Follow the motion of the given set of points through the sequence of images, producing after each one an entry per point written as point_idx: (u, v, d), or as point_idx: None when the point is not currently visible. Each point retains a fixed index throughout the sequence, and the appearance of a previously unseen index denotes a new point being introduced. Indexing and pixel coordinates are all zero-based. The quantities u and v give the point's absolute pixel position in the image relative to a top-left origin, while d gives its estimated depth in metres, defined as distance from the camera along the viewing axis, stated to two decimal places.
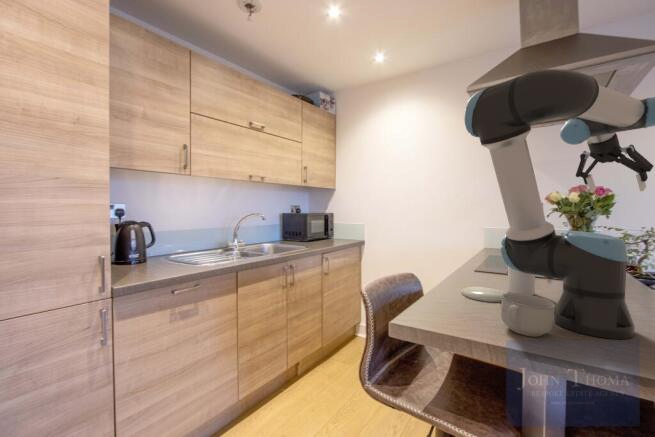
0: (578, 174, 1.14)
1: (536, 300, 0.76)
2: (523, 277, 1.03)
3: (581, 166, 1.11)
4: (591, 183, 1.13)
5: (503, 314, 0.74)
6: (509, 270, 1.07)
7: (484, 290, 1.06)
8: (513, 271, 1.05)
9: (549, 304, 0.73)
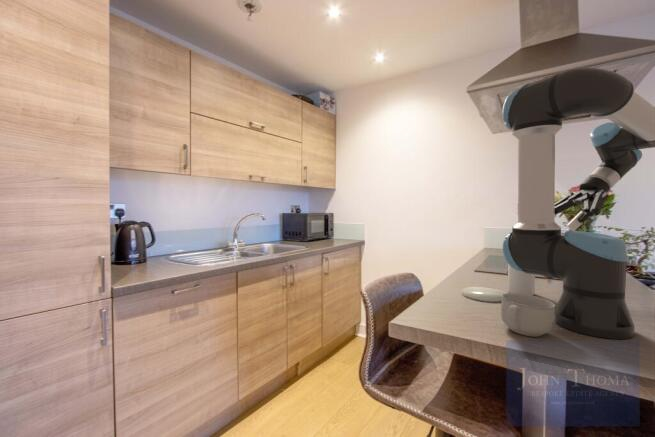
0: None
1: (536, 300, 0.76)
2: (523, 277, 1.03)
3: (559, 201, 1.14)
4: None
5: (503, 314, 0.74)
6: (509, 270, 1.07)
7: (484, 290, 1.06)
8: (513, 271, 1.05)
9: (549, 304, 0.73)
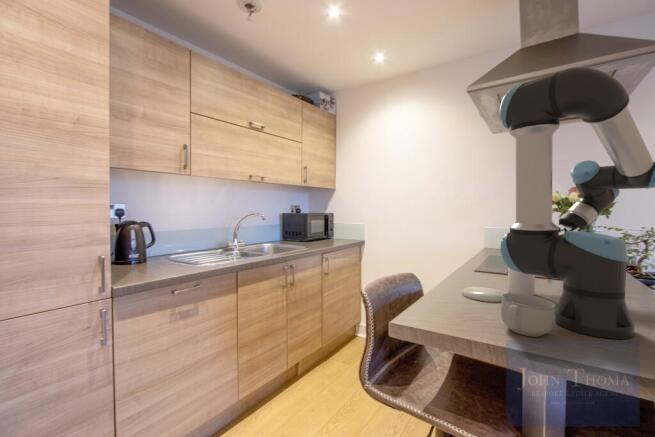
0: None
1: (536, 300, 0.76)
2: (523, 277, 1.03)
3: None
4: None
5: (503, 314, 0.74)
6: (509, 270, 1.07)
7: (484, 290, 1.06)
8: (513, 271, 1.05)
9: (549, 304, 0.73)
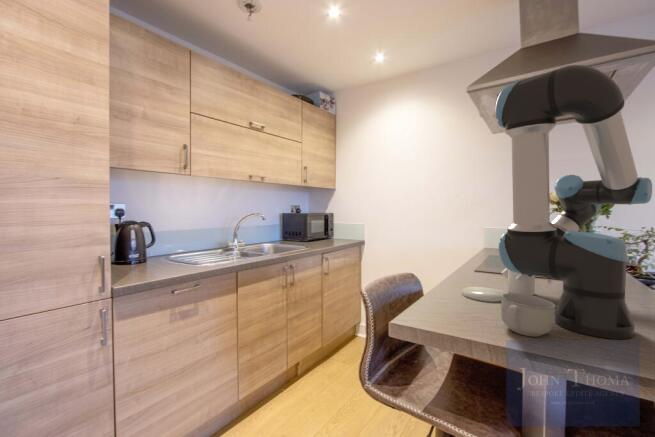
0: None
1: (536, 300, 0.76)
2: None
3: None
4: None
5: (503, 314, 0.74)
6: (509, 270, 1.07)
7: (484, 290, 1.06)
8: None
9: (549, 304, 0.73)
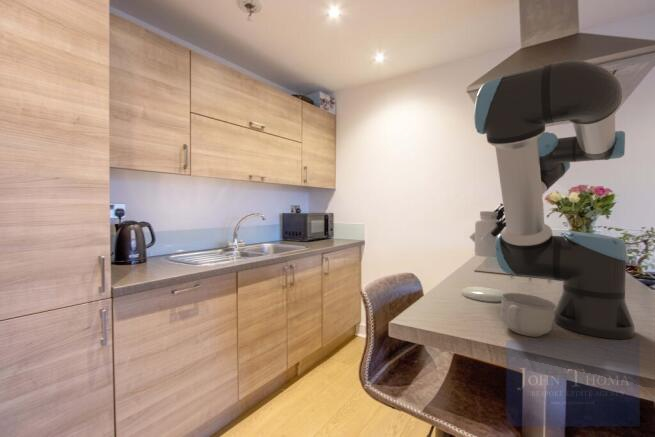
0: None
1: (536, 300, 0.76)
2: None
3: None
4: None
5: (503, 314, 0.74)
6: (475, 232, 1.04)
7: (484, 290, 1.06)
8: (479, 232, 1.02)
9: (549, 304, 0.73)
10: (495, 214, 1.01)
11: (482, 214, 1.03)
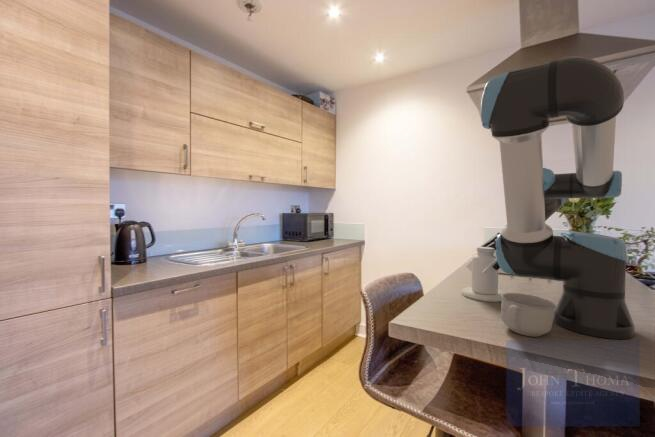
0: None
1: (536, 300, 0.76)
2: None
3: (488, 242, 1.10)
4: None
5: (503, 314, 0.74)
6: (472, 268, 1.04)
7: None
8: (476, 269, 1.02)
9: (549, 304, 0.73)
10: (492, 251, 1.01)
11: (479, 250, 1.02)
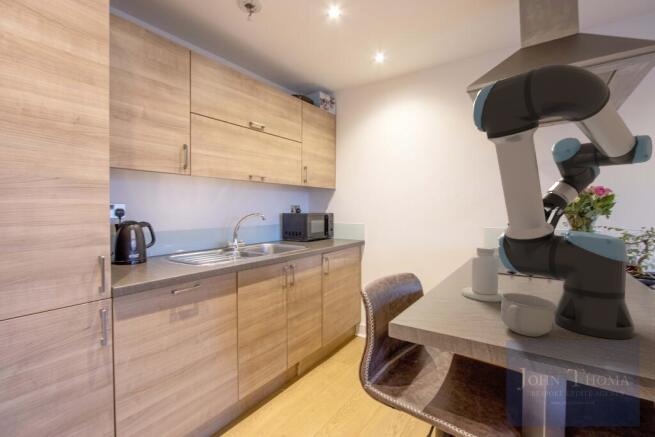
0: None
1: (536, 300, 0.76)
2: (486, 275, 1.00)
3: None
4: None
5: (503, 314, 0.74)
6: (472, 268, 1.04)
7: None
8: (476, 269, 1.02)
9: (549, 304, 0.73)
10: (492, 251, 1.01)
11: (479, 251, 1.02)
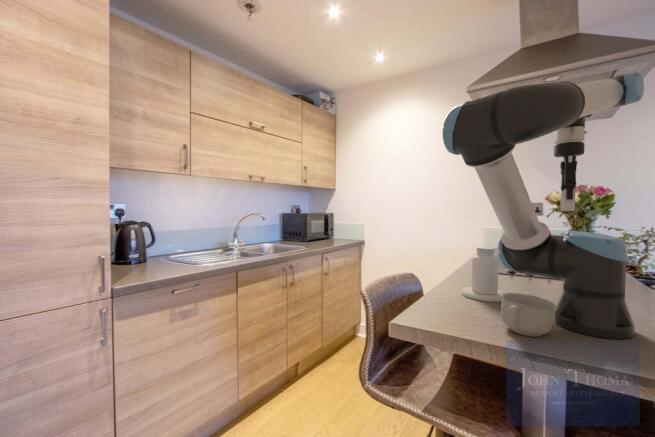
0: (561, 186, 1.05)
1: (536, 300, 0.76)
2: (486, 275, 1.00)
3: (562, 176, 1.04)
4: None
5: (503, 314, 0.74)
6: (472, 268, 1.04)
7: None
8: (476, 269, 1.02)
9: (549, 304, 0.73)
10: (492, 251, 1.01)
11: (479, 251, 1.02)
